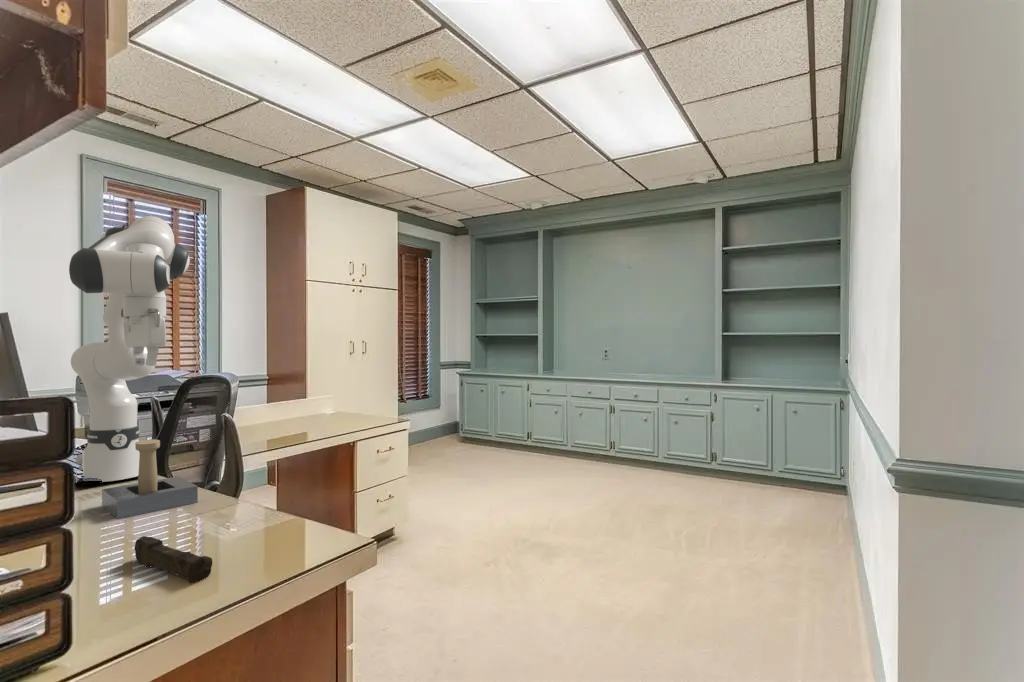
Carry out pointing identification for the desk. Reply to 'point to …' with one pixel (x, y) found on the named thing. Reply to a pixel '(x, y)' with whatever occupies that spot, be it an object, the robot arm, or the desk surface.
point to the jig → (149, 497)
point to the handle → (147, 465)
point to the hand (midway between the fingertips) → (145, 365)
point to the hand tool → (172, 559)
